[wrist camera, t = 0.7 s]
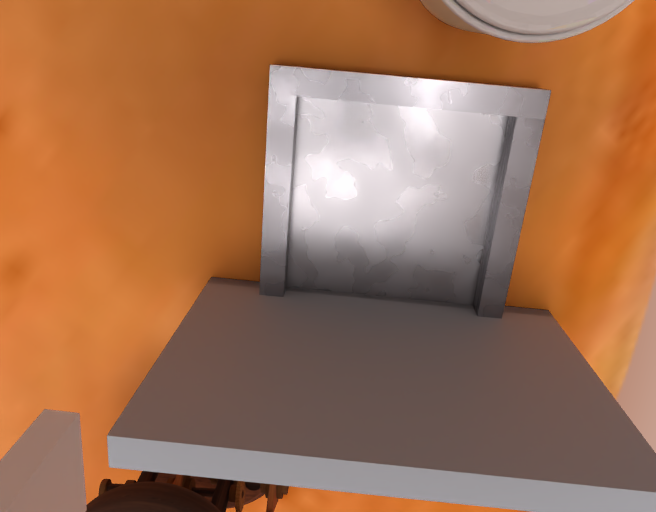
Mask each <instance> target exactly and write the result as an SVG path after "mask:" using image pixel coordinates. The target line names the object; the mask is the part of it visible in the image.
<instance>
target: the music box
mask: <svg viewBox="0 0 656 512" xmlns="http://www.w3.org/2000/svg"><path fill="white" fill-rule="evenodd" d="M288 487H289V486H284V485H274V484H265V483H255V482H246V481H236V480H227V479H217V478H207V477H198V476H188V475H179V474H169V473H160V472H150V471H142V473H141V475H140V477H139V479H138V481H137V482H136V481H135V480H127V481H126V483H125V484H112V483H111V480H110V479H103V480H102V482H101V484H100V488H99V496H98V497H97V498H95V499H94V500H92V501H91V502H90V503H89V504H87V505H86V506H87V510H86V512H226V508H233V507H235V509H236V512H242V508H243V506H244V505H245V504H248V503H250V502H253V501H255V500H256V499H258V498H260V497H261V496H263V495H264V494H265V496H266V498H268V501H267V510H266V512H274V510H275V507H276V504H277V502H278V499H282V498H283V494H286V495H287V493H288Z"/></svg>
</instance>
